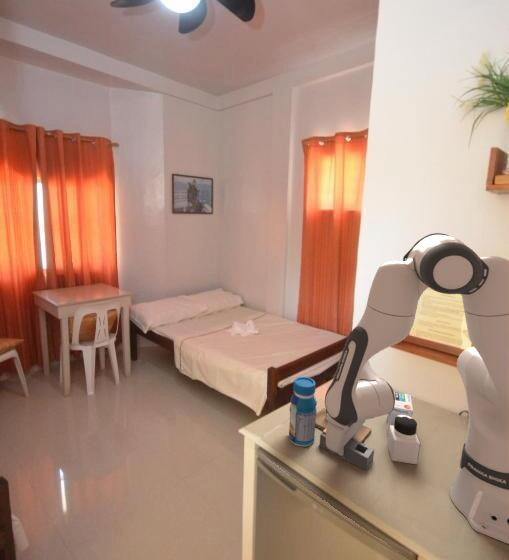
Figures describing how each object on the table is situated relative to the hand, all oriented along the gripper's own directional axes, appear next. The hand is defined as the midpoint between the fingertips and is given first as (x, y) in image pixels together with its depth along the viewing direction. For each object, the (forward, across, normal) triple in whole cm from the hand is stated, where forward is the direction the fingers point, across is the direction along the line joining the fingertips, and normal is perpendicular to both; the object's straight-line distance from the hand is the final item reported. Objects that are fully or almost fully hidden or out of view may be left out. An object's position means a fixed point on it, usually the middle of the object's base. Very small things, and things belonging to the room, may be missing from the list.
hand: (345, 448), depth 100 cm
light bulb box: (+2, -23, +8) cm, 24 cm away
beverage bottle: (+2, +4, -14) cm, 14 cm away
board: (+2, -10, -7) cm, 12 cm away
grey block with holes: (+2, 0, 0) cm, 2 cm away
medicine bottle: (+2, -11, +13) cm, 17 cm away
